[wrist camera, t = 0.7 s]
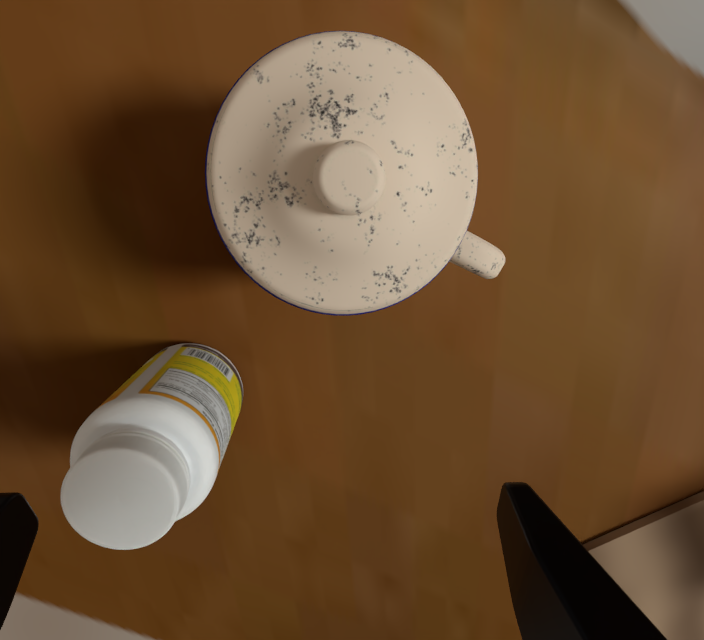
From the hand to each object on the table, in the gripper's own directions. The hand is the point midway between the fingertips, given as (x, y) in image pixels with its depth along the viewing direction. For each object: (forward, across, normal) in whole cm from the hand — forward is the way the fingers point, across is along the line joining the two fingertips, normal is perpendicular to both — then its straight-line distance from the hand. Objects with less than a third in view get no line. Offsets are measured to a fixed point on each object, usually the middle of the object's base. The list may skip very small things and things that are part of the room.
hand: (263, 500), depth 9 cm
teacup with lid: (+18, -2, +1) cm, 18 cm away
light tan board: (+11, -23, +24) cm, 35 cm away
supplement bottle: (+14, +7, +10) cm, 19 cm away
